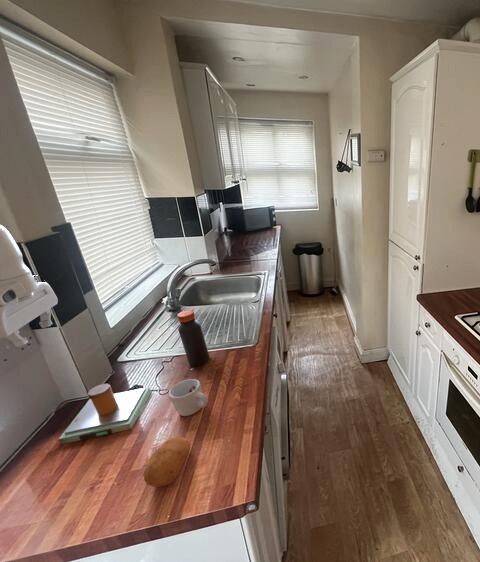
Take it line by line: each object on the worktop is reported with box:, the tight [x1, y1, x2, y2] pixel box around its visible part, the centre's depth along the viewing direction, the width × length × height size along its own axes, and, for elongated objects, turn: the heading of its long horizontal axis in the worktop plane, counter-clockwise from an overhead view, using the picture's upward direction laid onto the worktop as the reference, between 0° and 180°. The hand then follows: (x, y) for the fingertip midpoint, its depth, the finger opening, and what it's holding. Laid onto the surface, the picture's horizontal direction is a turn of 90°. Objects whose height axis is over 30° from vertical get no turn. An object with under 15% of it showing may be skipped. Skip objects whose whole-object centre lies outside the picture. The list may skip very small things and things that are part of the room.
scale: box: [58, 387, 152, 445], centre depth 89 cm, size 16×16×3 cm
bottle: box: [176, 309, 211, 368], centre depth 109 cm, size 7×7×20 cm
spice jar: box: [87, 383, 118, 415], centre depth 87 cm, size 5×5×7 cm
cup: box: [167, 378, 209, 417], centre depth 89 cm, size 11×8×8 cm
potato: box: [143, 436, 191, 488], centre depth 72 cm, size 7×13×7 cm, turn 8°
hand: (35, 335), depth 81 cm, fingers open, 8 cm apart
